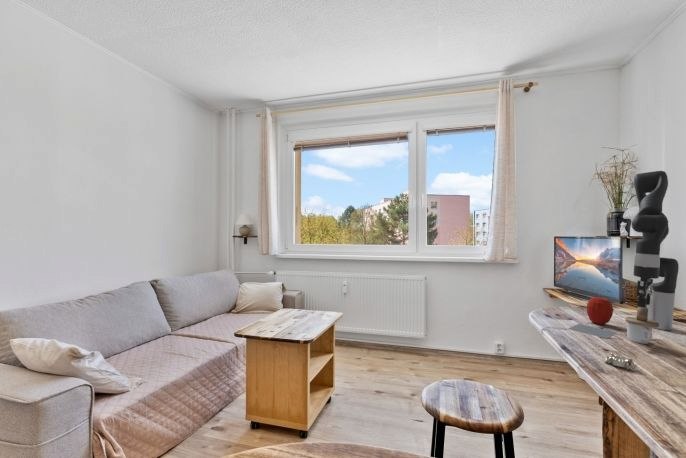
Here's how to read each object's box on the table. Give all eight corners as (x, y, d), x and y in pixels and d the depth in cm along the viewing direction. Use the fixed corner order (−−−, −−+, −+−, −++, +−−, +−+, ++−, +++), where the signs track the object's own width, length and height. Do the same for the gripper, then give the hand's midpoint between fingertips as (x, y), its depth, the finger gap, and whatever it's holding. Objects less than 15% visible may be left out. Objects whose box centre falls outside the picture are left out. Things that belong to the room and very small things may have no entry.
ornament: (639, 369, 108) (640, 358, 108) (632, 373, 104) (633, 362, 104) (609, 360, 115) (610, 349, 115) (601, 364, 111) (602, 353, 111)
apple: (612, 328, 152) (615, 298, 152) (585, 324, 158) (587, 294, 158) (611, 324, 161) (613, 295, 160) (585, 319, 167) (587, 291, 166)
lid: (628, 318, 141) (629, 303, 141) (660, 324, 133) (661, 309, 133) (622, 321, 135) (623, 306, 134) (656, 328, 127) (657, 312, 127)
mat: (578, 324, 157) (579, 323, 157) (616, 333, 146) (616, 332, 146) (567, 329, 147) (567, 328, 147) (607, 339, 136) (607, 338, 136)
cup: (661, 349, 128) (663, 328, 128) (637, 346, 130) (639, 326, 129) (642, 340, 138) (644, 320, 138) (620, 337, 140) (622, 318, 140)
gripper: (638, 263, 141) (635, 301, 141) (630, 264, 132) (627, 305, 132) (662, 265, 135) (659, 305, 135) (656, 267, 126) (653, 310, 126)
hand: (643, 305), depth 134 cm, fingers open, 8 cm apart
